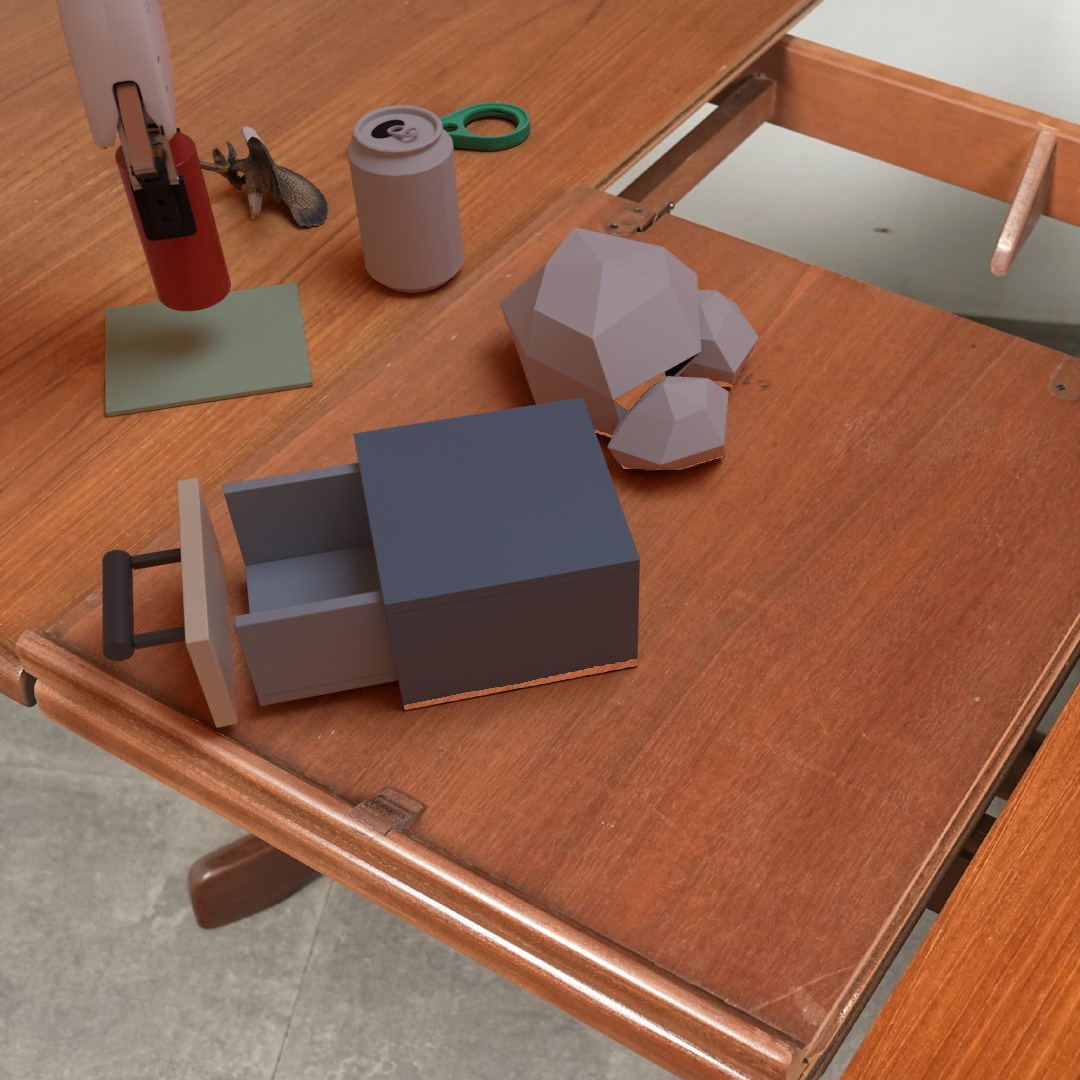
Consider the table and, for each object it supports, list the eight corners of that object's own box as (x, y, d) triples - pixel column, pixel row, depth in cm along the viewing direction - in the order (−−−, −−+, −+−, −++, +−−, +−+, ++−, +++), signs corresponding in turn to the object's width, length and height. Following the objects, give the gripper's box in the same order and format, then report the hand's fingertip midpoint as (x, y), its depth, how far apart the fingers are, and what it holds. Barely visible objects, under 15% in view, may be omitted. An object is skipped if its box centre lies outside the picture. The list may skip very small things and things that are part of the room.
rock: (756, 312, 102) (767, 196, 94) (756, 501, 89) (769, 384, 81) (511, 301, 102) (503, 186, 95) (476, 487, 89) (464, 370, 82)
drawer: (126, 745, 75) (87, 660, 69) (124, 581, 83) (89, 494, 77) (441, 686, 78) (428, 600, 72) (410, 533, 85) (396, 445, 80)
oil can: (158, 316, 93) (110, 162, 84) (156, 274, 96) (110, 120, 87) (233, 305, 94) (193, 151, 85) (229, 263, 97) (189, 110, 88)
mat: (106, 417, 94) (105, 412, 94) (106, 313, 101) (104, 308, 101) (313, 386, 96) (312, 381, 96) (297, 286, 104) (296, 282, 103)
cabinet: (404, 711, 77) (384, 604, 71) (373, 542, 86) (353, 433, 79) (637, 667, 80) (640, 559, 73) (585, 506, 88) (583, 396, 81)
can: (411, 230, 109) (392, 87, 99) (484, 263, 106) (473, 118, 97) (346, 276, 104) (320, 131, 95) (421, 311, 102) (402, 165, 93)
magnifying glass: (520, 110, 121) (519, 91, 119) (538, 144, 117) (537, 126, 116) (348, 136, 118) (345, 118, 116) (362, 173, 114) (359, 154, 113)
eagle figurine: (187, 212, 108) (274, 224, 104) (191, 116, 106) (279, 125, 102) (255, 219, 115) (340, 231, 111) (260, 130, 113) (346, 138, 109)
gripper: (25, -128, 81) (111, 151, 95) (13, 2, 71) (113, 295, 84) (154, -141, 83) (221, 137, 96) (163, -15, 72) (237, 278, 86)
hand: (170, 208), depth 90 cm, fingers closed on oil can, 5 cm apart
